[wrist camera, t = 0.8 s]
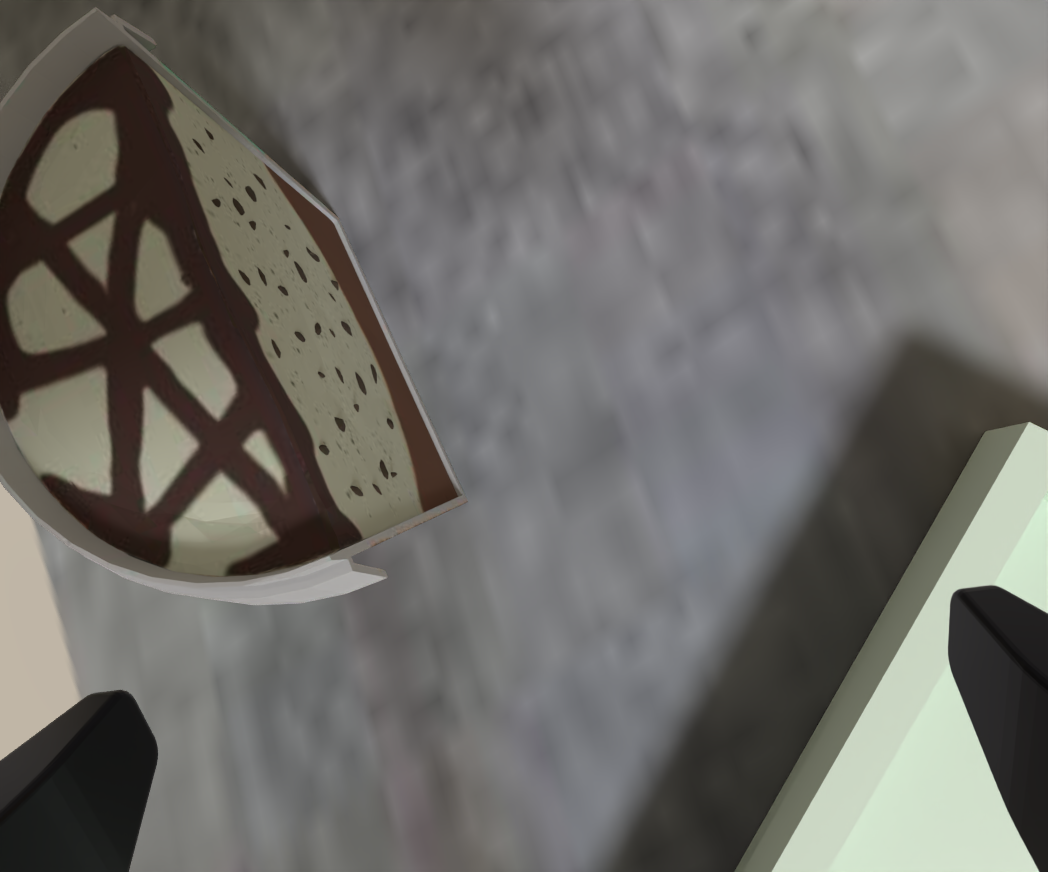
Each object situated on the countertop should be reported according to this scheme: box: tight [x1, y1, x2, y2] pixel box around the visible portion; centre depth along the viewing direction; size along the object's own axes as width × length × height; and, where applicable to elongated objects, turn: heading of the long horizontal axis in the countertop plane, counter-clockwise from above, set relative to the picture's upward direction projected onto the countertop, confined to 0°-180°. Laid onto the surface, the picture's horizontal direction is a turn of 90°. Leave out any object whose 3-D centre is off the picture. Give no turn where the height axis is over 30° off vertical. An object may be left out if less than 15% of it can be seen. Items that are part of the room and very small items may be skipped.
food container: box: [0, 7, 468, 605], centre depth 21 cm, size 12×6×10 cm, turn 26°
